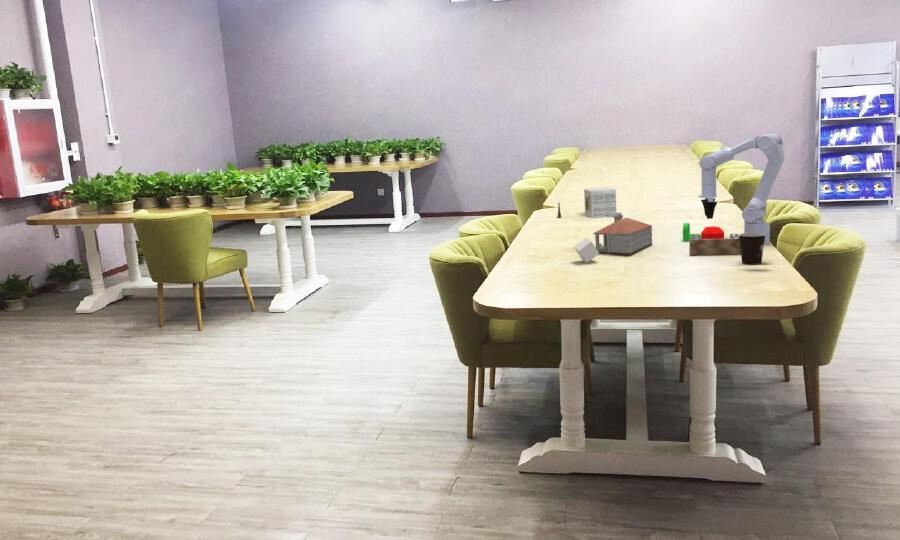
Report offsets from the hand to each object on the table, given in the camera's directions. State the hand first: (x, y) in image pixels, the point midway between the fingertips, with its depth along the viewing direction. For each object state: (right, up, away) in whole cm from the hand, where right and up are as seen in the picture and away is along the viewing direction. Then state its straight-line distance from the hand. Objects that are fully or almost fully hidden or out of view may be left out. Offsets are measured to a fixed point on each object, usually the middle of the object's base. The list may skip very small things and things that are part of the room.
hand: (708, 217), depth 315 cm
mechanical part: (-5, -10, +6) cm, 12 cm away
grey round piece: (-5, -15, -23) cm, 28 cm away
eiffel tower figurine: (-51, +1, +77) cm, 93 cm away
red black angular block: (-2, -12, -10) cm, 16 cm away
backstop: (-7, -16, -30) cm, 34 cm away
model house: (-37, -14, -6) cm, 40 cm away
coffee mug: (0, -19, -47) cm, 51 cm away
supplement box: (-30, +2, +77) cm, 82 cm away
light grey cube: (-55, -19, -26) cm, 64 cm away
